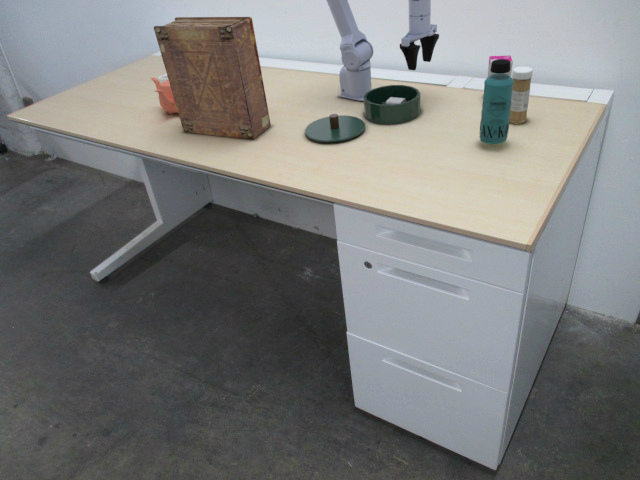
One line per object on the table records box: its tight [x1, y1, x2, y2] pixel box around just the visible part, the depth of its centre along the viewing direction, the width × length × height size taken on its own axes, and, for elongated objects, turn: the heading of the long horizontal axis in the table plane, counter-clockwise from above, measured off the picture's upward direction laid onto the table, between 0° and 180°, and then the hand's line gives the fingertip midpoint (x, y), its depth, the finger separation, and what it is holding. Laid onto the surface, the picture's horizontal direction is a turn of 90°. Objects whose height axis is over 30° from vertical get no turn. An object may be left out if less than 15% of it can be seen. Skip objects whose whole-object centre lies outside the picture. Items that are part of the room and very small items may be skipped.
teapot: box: [149, 77, 178, 115], centre depth 164 cm, size 14×14×11 cm
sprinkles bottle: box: [509, 66, 534, 125], centre depth 128 cm, size 5×5×14 cm
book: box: [153, 16, 272, 140], centre depth 141 cm, size 25×9×30 cm, turn 64°
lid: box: [304, 113, 366, 143], centre depth 139 cm, size 16×16×4 cm
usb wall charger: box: [382, 97, 406, 105], centre depth 144 cm, size 4×7×4 cm, turn 59°
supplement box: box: [486, 55, 514, 79], centre depth 141 cm, size 6×6×12 cm
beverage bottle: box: [479, 59, 514, 145], centre depth 117 cm, size 6×7×20 cm
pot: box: [363, 84, 421, 125], centre depth 144 cm, size 15×15×5 cm
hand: (419, 65), depth 144 cm, fingers open, 7 cm apart
